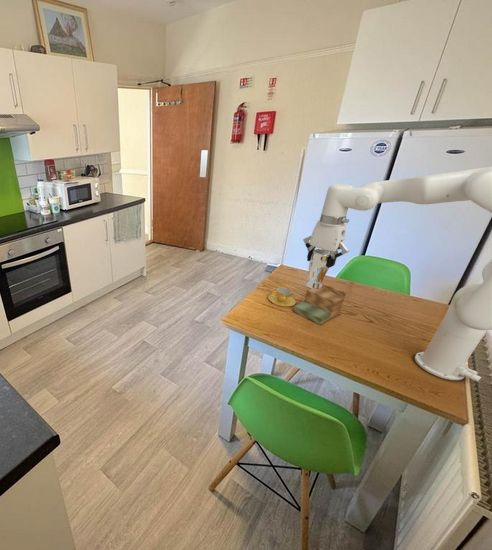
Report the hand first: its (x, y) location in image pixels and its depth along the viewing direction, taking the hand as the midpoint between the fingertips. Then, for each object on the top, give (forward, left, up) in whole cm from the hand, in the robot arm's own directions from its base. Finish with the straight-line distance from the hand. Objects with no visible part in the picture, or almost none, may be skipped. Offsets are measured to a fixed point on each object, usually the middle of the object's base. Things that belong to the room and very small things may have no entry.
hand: (319, 263), depth 116 cm
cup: (+15, -7, -27) cm, 32 cm away
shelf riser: (0, -11, -27) cm, 29 cm away
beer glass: (0, 0, -10) cm, 10 cm away
